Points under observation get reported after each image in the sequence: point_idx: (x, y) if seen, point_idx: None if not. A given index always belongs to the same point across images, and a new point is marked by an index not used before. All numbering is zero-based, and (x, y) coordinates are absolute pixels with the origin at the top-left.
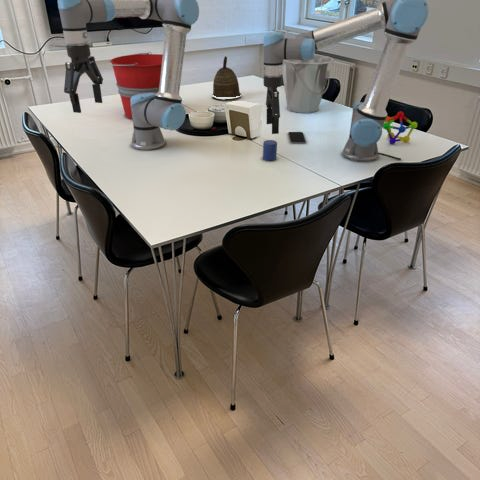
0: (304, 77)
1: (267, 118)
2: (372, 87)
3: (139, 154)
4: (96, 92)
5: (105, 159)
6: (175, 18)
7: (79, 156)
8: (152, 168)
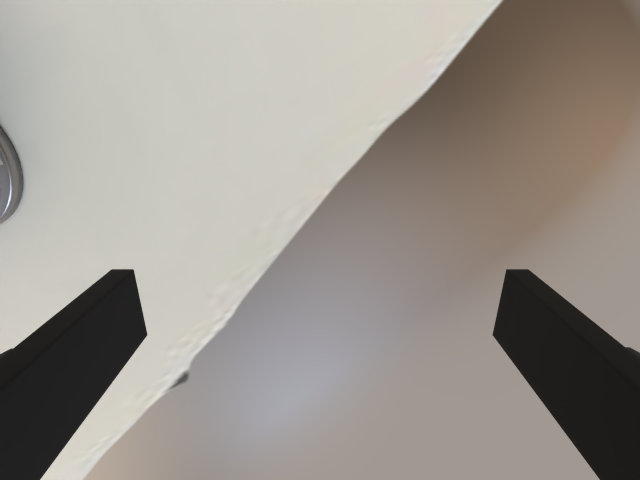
0: None
1: None
2: None
3: (62, 144)
4: (73, 381)
5: (171, 242)
6: None
7: (188, 333)
8: (162, 3)
